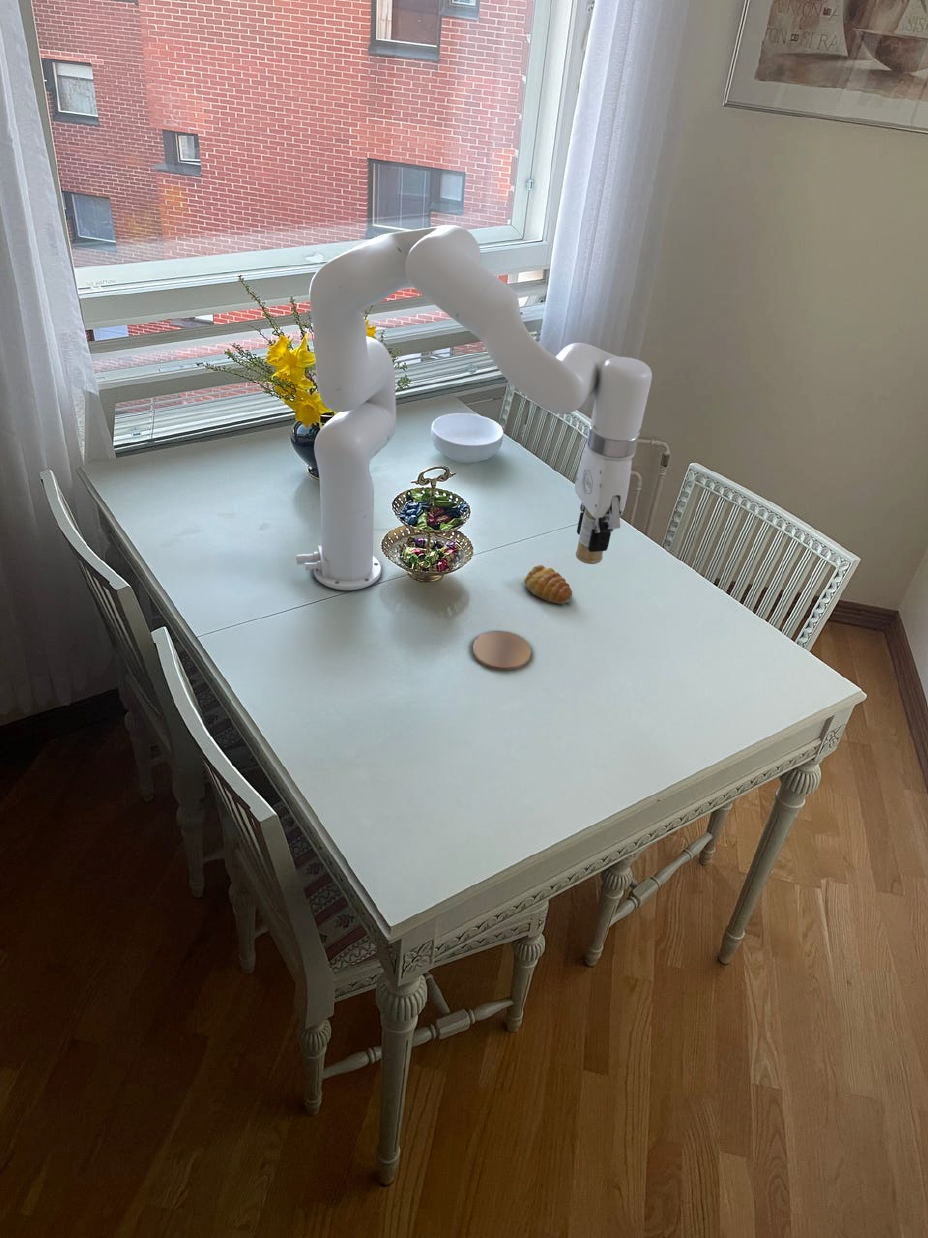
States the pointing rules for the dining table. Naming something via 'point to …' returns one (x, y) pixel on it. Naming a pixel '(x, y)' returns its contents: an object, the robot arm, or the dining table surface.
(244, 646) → the dining table surface
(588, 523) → the sprinkles bottle
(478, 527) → the dining table surface
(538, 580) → the pastry
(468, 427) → the cereal bowl
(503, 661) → the copper coaster
